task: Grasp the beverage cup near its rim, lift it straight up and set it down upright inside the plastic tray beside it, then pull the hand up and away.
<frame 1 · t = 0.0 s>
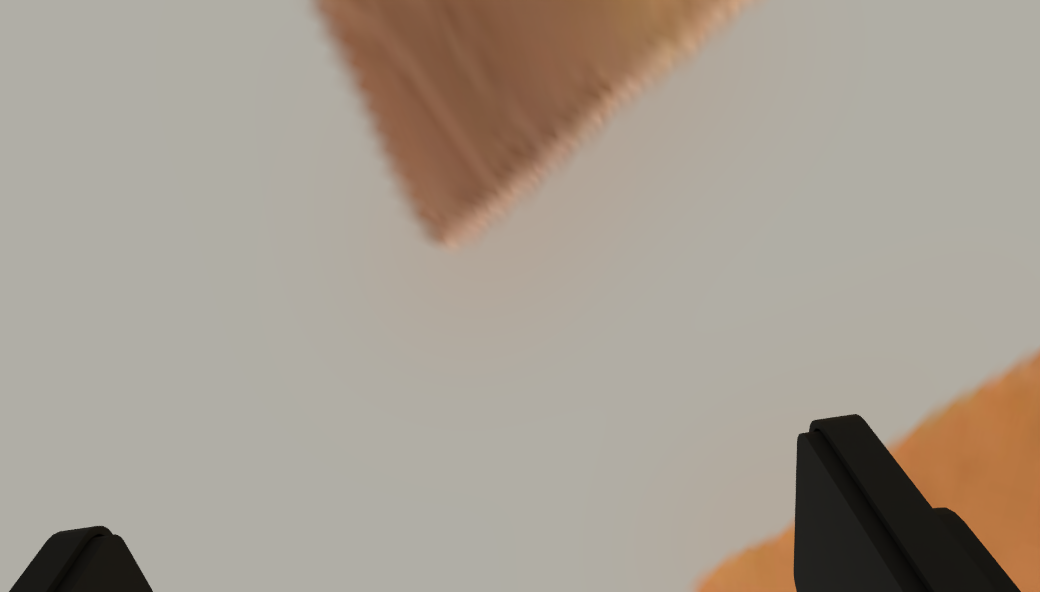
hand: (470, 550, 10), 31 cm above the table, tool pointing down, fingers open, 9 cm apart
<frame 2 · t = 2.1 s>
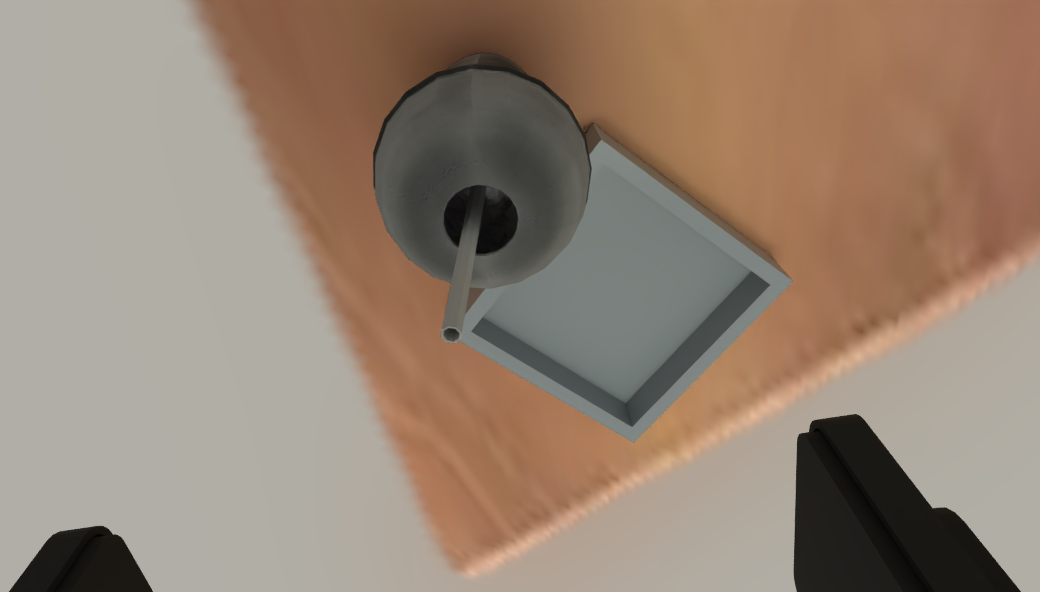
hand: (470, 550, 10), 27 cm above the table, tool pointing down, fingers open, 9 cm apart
beverage cup: (485, 101, 34), on the table
tray: (610, 282, 38), on the table
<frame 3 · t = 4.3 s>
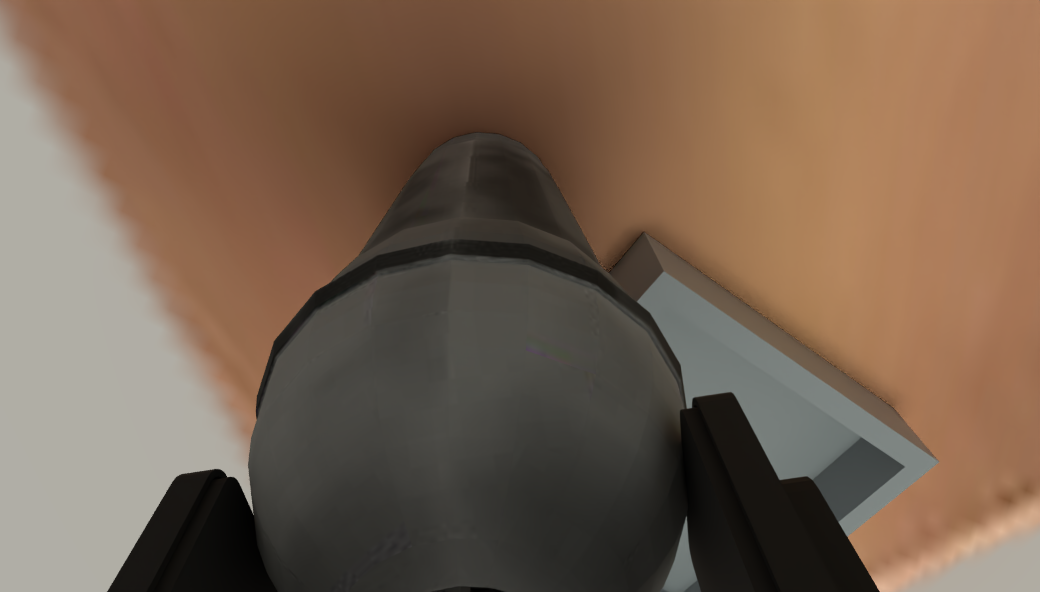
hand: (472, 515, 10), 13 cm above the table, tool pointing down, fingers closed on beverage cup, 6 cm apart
beverage cup: (483, 201, 22), on the table, touching gripper
tray: (661, 442, 27), on the table
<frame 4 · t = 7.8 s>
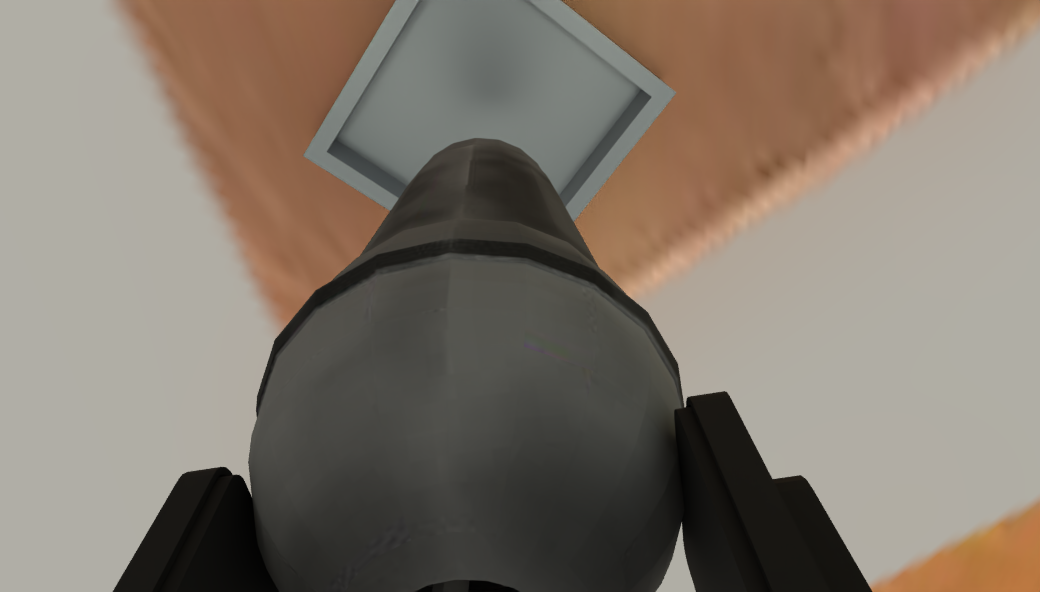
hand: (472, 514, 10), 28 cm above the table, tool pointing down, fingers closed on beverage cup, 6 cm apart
beverage cup: (482, 206, 22), point 14 cm above the table, touching gripper
tray: (488, 110, 35), on the table
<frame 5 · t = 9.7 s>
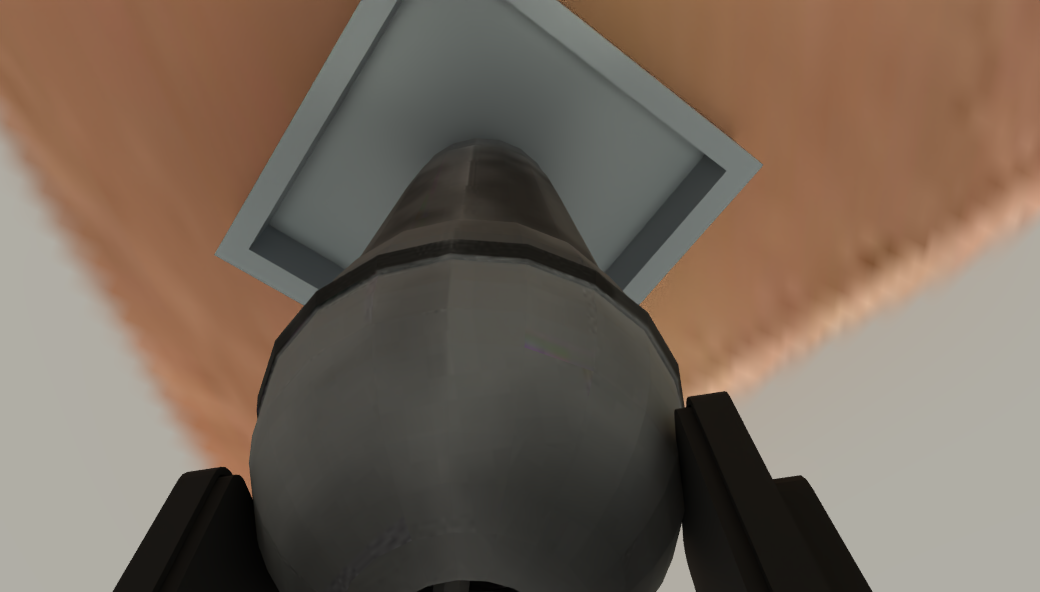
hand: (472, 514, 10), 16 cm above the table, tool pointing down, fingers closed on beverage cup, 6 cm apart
beverage cup: (483, 206, 22), point 3 cm above the table, touching gripper
tray: (485, 181, 25), on the table
when the fingers open (15 cm above the table, at t = 10.8 s): beverage cup drops 1 cm, resting on tray.
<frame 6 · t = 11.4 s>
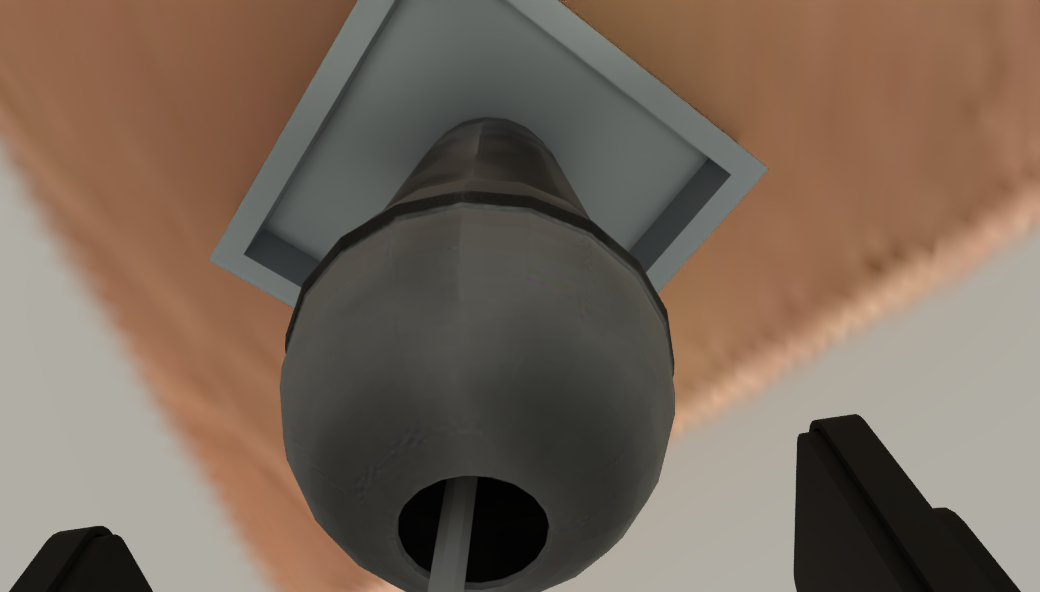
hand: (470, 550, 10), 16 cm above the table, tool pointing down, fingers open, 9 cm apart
beverage cup: (490, 183, 24), point 1 cm above the table, touching tray
tray: (484, 185, 24), on the table
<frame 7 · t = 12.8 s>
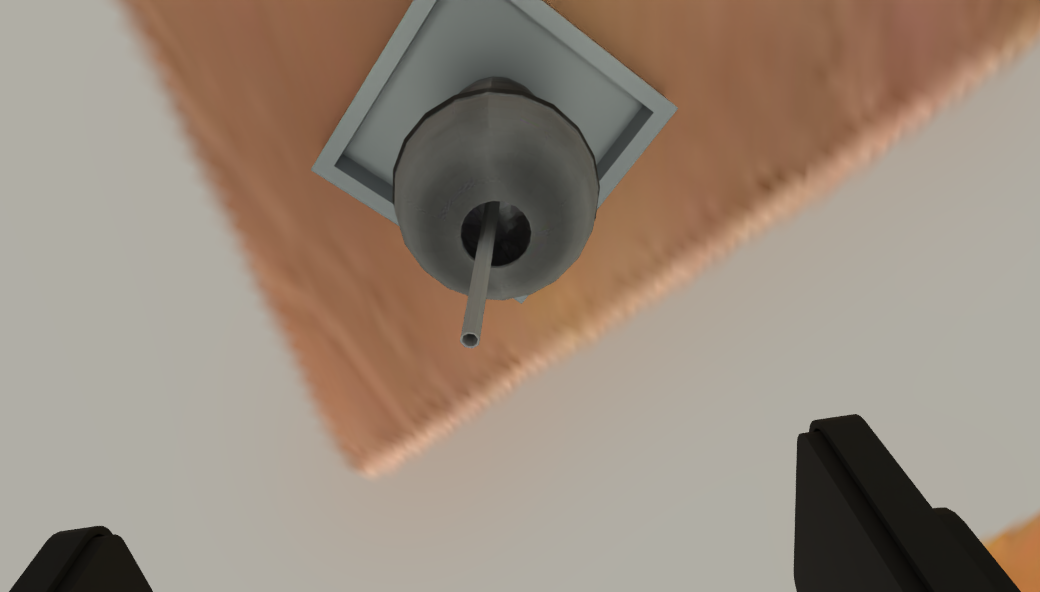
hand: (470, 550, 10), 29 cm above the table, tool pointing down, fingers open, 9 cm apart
beverage cup: (496, 122, 35), point 1 cm above the table, touching tray
tray: (492, 125, 36), on the table
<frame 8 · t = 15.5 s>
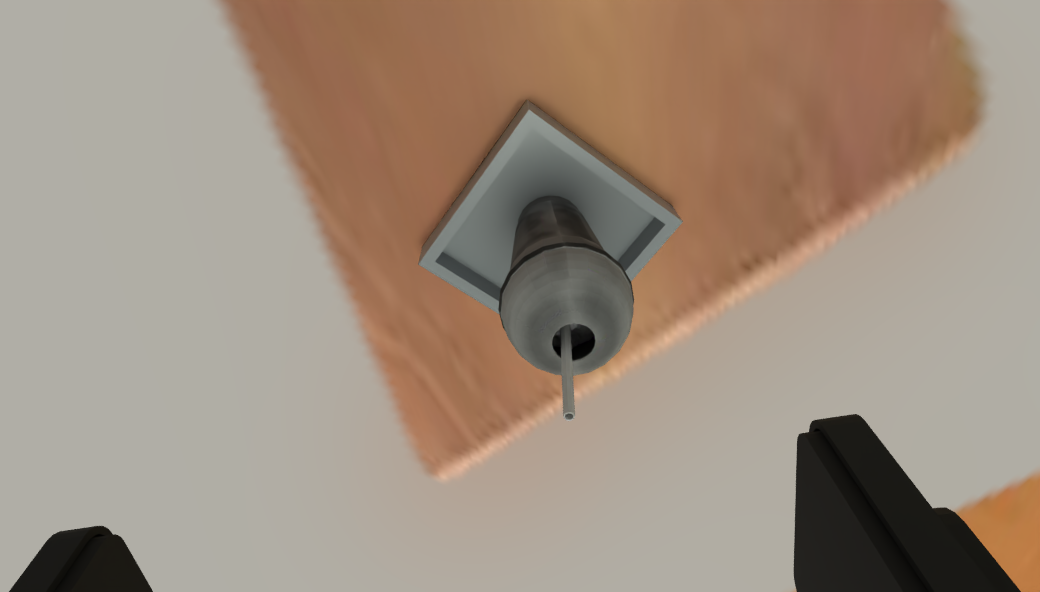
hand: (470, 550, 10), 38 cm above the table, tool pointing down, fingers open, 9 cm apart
beverage cup: (550, 226, 48), point 1 cm above the table, touching tray
tray: (546, 226, 49), on the table
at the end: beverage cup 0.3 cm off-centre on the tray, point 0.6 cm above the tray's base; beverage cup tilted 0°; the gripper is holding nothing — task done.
